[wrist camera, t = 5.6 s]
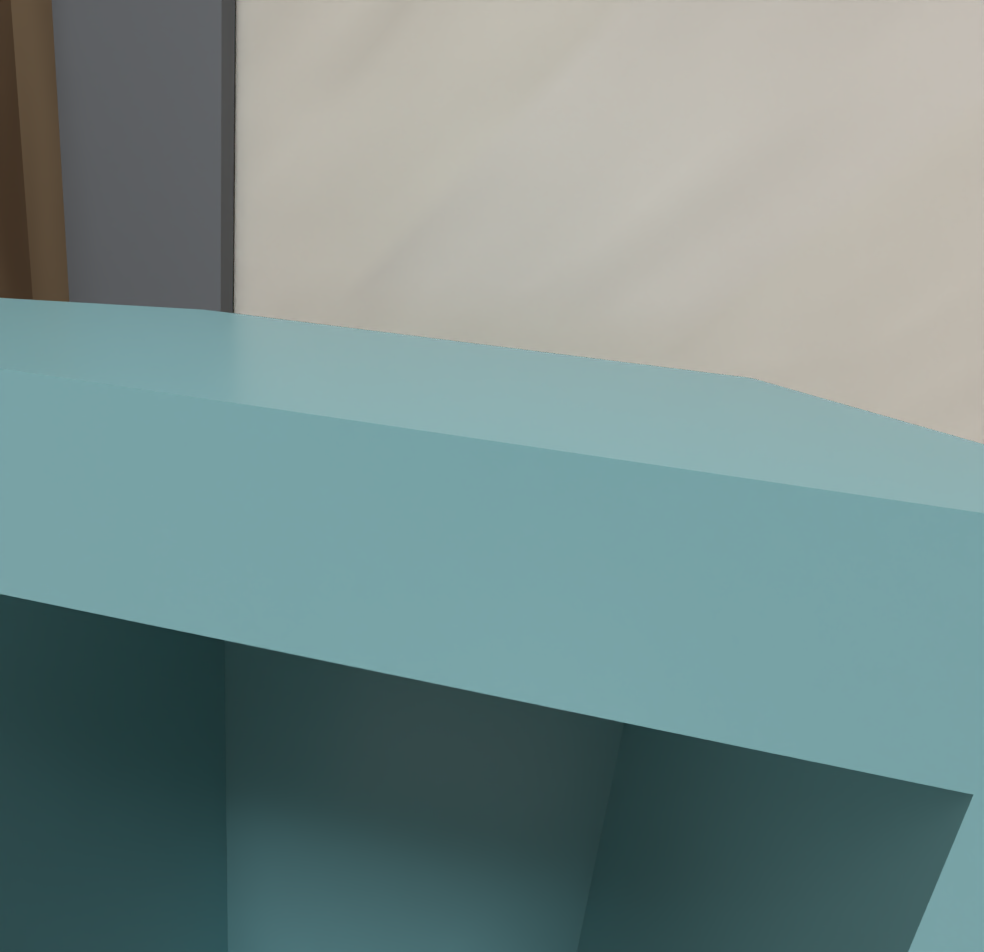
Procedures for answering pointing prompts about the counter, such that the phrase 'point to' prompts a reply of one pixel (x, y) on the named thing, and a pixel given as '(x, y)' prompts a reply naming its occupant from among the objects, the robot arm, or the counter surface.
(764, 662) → the teal crate
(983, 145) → the counter surface
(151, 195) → the mat
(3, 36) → the walnut crate
